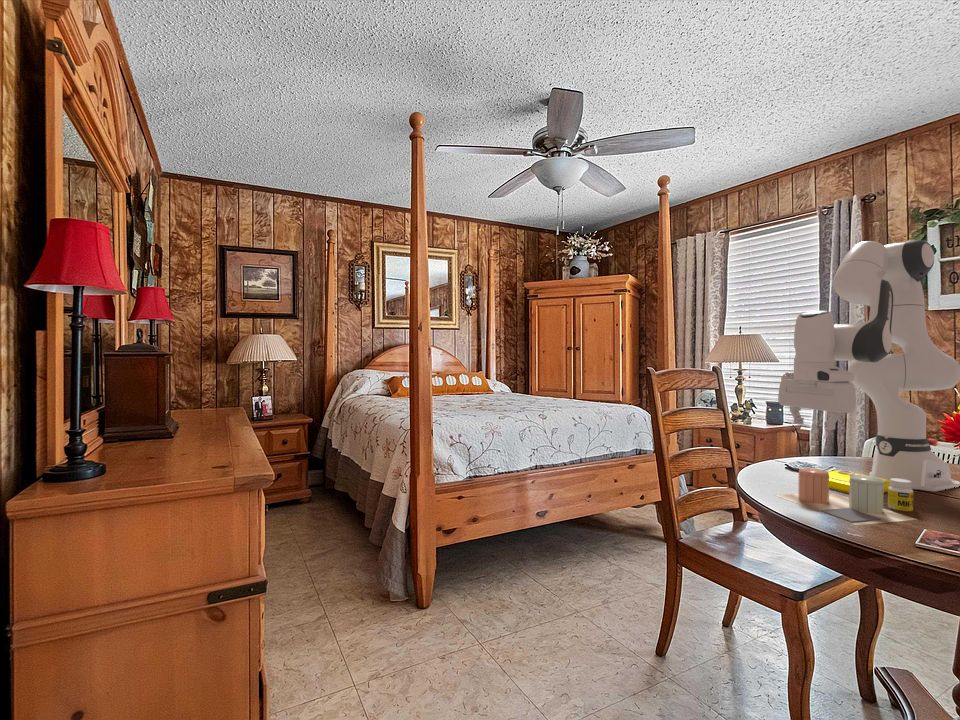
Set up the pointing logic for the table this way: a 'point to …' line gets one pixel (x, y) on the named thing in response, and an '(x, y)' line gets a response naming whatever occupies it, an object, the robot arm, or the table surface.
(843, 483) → the element tile
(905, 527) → the table surface
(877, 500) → the sage cup
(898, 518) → the birch board
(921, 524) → the table surface
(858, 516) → the charcoal mat
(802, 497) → the terracotta cup
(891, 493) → the supplement bottle
